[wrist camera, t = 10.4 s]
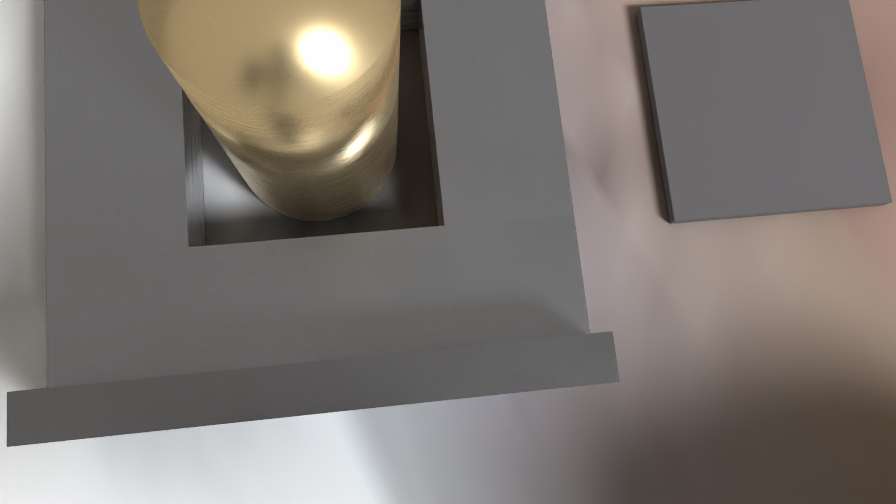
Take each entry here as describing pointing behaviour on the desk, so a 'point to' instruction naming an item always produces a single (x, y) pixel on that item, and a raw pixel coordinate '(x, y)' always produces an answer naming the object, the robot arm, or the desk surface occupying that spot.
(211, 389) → the plate
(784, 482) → the desk surface
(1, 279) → the desk surface
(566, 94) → the desk surface
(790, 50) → the grey square plate
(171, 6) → the brass knob
